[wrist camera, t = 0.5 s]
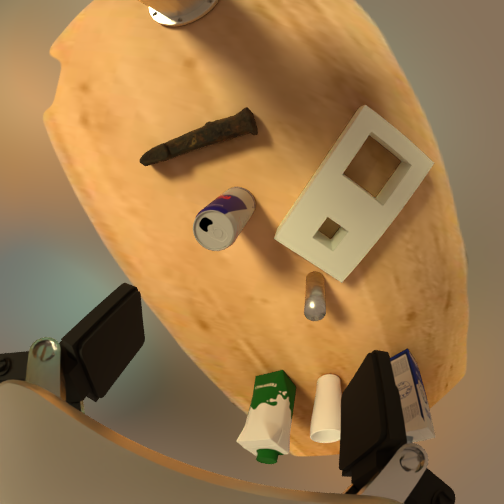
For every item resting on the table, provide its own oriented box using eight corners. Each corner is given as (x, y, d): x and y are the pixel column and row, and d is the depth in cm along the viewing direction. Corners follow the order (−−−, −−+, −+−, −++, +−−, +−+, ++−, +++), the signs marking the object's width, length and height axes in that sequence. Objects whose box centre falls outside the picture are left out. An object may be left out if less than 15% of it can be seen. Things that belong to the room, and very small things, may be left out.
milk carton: (417, 364, 48) (435, 438, 30) (391, 377, 51) (403, 452, 33) (407, 347, 46) (427, 428, 29) (380, 362, 49) (391, 443, 32)
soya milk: (269, 395, 60) (253, 465, 42) (250, 374, 57) (228, 448, 40) (301, 388, 57) (292, 463, 39) (284, 365, 54) (270, 447, 36)
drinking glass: (343, 387, 54) (343, 442, 41) (314, 389, 56) (310, 443, 43) (343, 369, 52) (345, 428, 38) (313, 371, 53) (308, 430, 40)
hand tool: (253, 108, 35) (246, 105, 31) (260, 134, 36) (254, 134, 32) (145, 145, 40) (129, 147, 36) (151, 167, 41) (135, 171, 37)
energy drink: (233, 179, 40) (205, 198, 29) (262, 200, 40) (245, 227, 29) (215, 206, 42) (183, 234, 31) (243, 226, 42) (220, 261, 32)
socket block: (277, 227, 41) (273, 238, 37) (358, 107, 31) (365, 104, 27) (339, 268, 42) (341, 282, 38) (421, 159, 32) (434, 163, 28)
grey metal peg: (302, 281, 45) (299, 314, 37) (313, 268, 43) (313, 300, 35) (316, 290, 45) (316, 324, 37) (327, 277, 43) (330, 310, 35)
